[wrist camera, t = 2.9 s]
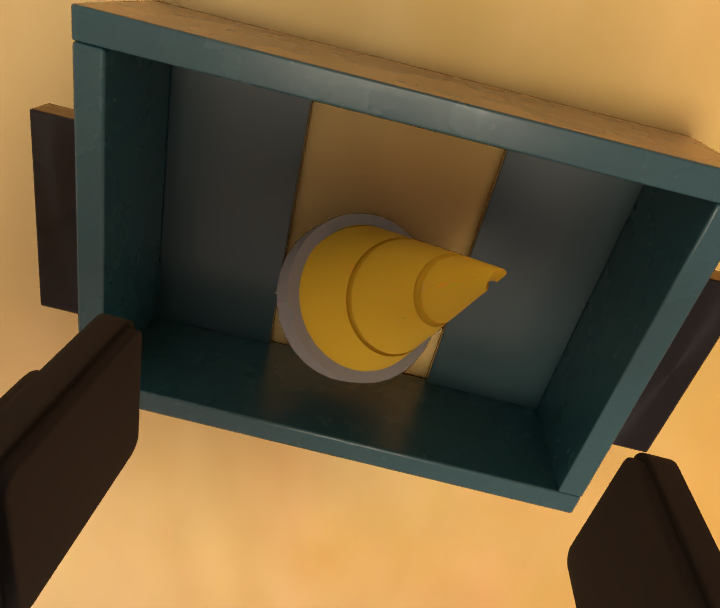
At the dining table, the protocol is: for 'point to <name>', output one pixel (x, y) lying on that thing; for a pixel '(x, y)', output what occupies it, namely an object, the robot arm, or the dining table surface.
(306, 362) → the yellow stepped cone
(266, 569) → the dining table surface
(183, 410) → the tray
